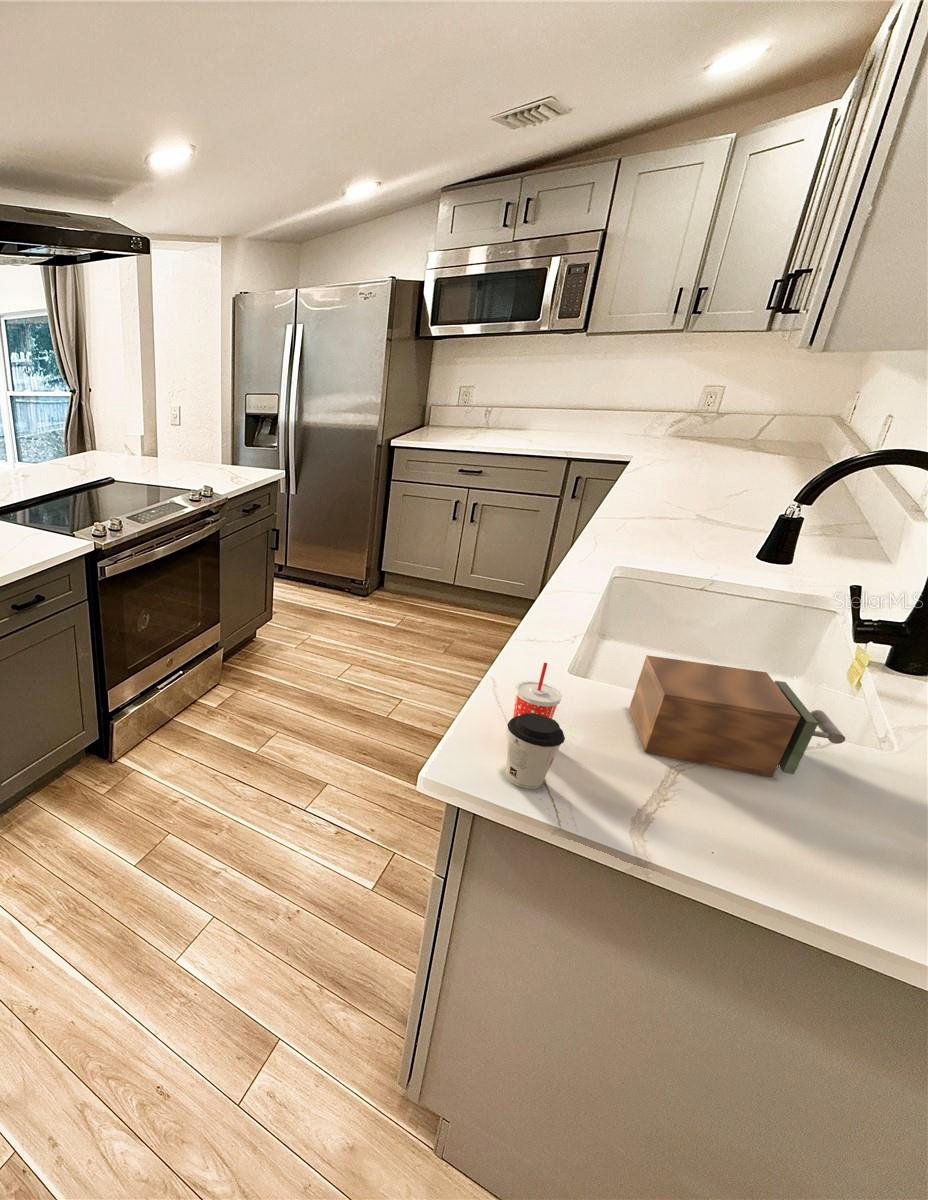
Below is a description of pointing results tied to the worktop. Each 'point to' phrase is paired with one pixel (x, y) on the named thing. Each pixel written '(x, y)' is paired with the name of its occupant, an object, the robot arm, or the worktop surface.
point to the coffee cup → (531, 749)
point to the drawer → (805, 730)
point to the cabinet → (712, 715)
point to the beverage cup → (536, 697)
